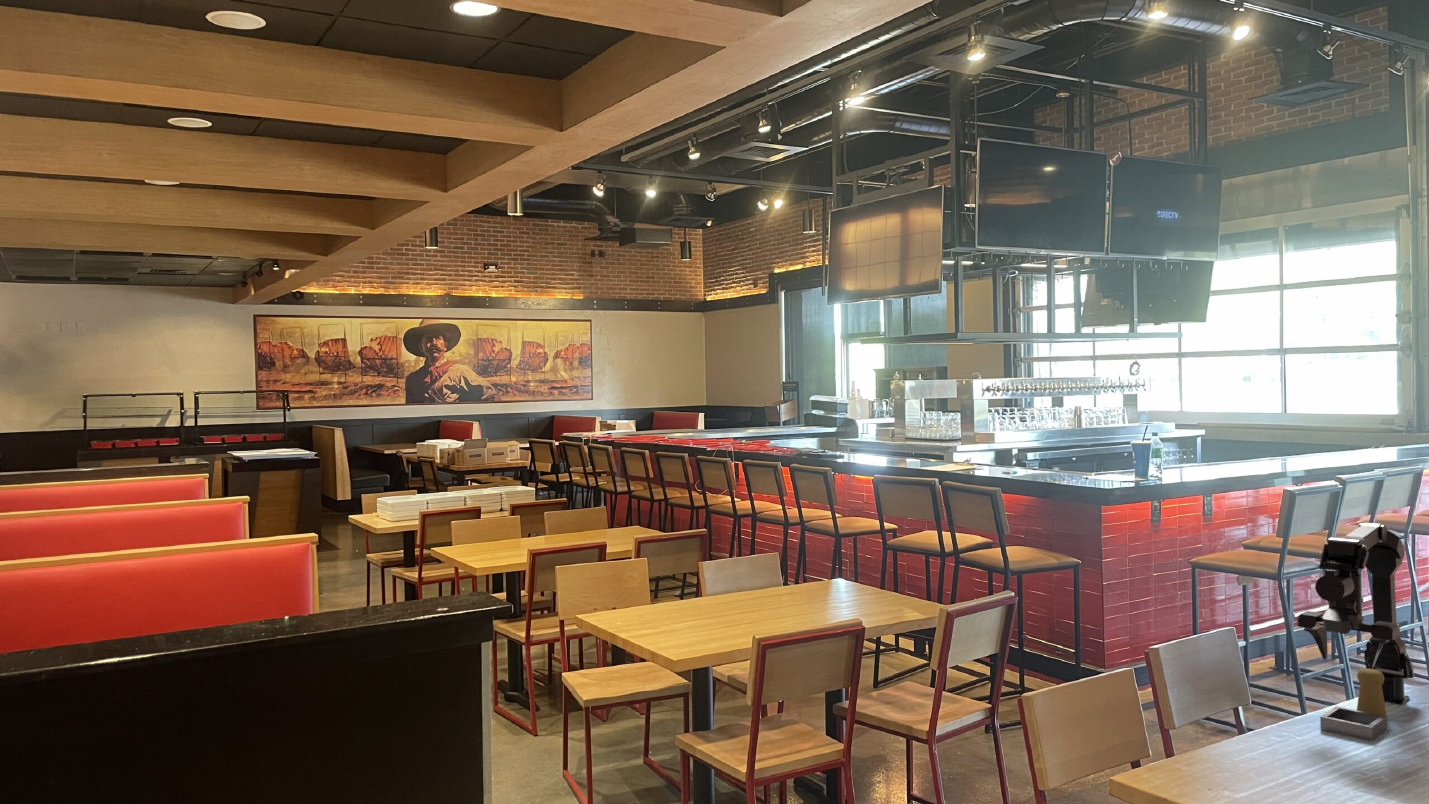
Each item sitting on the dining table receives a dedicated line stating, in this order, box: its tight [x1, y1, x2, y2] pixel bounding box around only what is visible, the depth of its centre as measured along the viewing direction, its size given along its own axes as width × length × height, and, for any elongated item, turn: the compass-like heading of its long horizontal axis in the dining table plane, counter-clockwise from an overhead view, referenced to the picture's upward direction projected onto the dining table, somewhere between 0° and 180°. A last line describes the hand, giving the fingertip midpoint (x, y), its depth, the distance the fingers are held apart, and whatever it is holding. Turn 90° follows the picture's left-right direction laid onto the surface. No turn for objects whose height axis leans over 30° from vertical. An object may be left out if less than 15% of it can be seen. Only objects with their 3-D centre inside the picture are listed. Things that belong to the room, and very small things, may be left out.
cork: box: [1356, 668, 1388, 717], centre depth 225 cm, size 6×6×11 cm
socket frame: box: [1319, 705, 1388, 742], centre depth 217 cm, size 10×10×3 cm
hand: (1348, 663), depth 218 cm, fingers open, 9 cm apart
